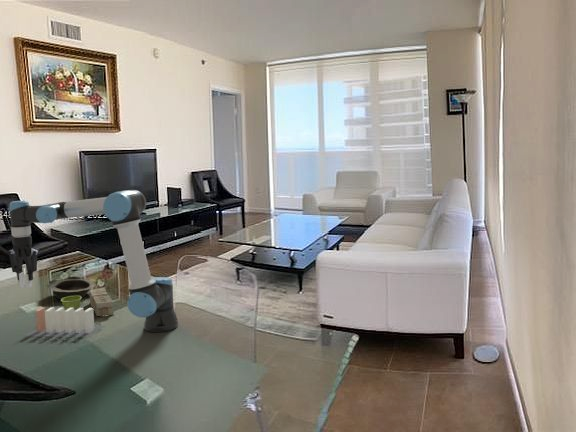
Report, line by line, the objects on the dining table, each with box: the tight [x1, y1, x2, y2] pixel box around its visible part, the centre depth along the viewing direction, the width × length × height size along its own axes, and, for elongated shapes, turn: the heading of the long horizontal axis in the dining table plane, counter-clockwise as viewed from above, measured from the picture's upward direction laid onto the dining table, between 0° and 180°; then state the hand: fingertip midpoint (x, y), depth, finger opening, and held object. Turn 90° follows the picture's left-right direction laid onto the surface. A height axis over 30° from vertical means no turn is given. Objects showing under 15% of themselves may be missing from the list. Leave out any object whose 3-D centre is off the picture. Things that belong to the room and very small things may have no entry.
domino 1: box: [34, 306, 47, 332], centre depth 213 cm, size 2×5×10 cm, turn 177°
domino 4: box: [64, 308, 75, 333], centre depth 212 cm, size 2×5×10 cm, turn 177°
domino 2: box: [45, 306, 56, 333], centre depth 213 cm, size 2×5×10 cm, turn 177°
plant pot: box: [60, 296, 83, 311], centre depth 234 cm, size 9×9×9 cm
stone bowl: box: [46, 276, 97, 300], centre depth 266 cm, size 25×25×9 cm
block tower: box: [88, 287, 114, 317], centre depth 243 cm, size 8×8×29 cm
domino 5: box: [74, 307, 85, 333], centre depth 212 cm, size 2×5×10 cm, turn 176°
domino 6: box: [84, 307, 95, 333], centre depth 212 cm, size 2×5×10 cm, turn 177°
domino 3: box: [54, 307, 66, 333], centre depth 212 cm, size 2×5×10 cm, turn 177°
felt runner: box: [25, 324, 105, 338], centre depth 213 cm, size 30×14×1 cm, turn 87°
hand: (26, 287), depth 211 cm, fingers open, 3 cm apart
